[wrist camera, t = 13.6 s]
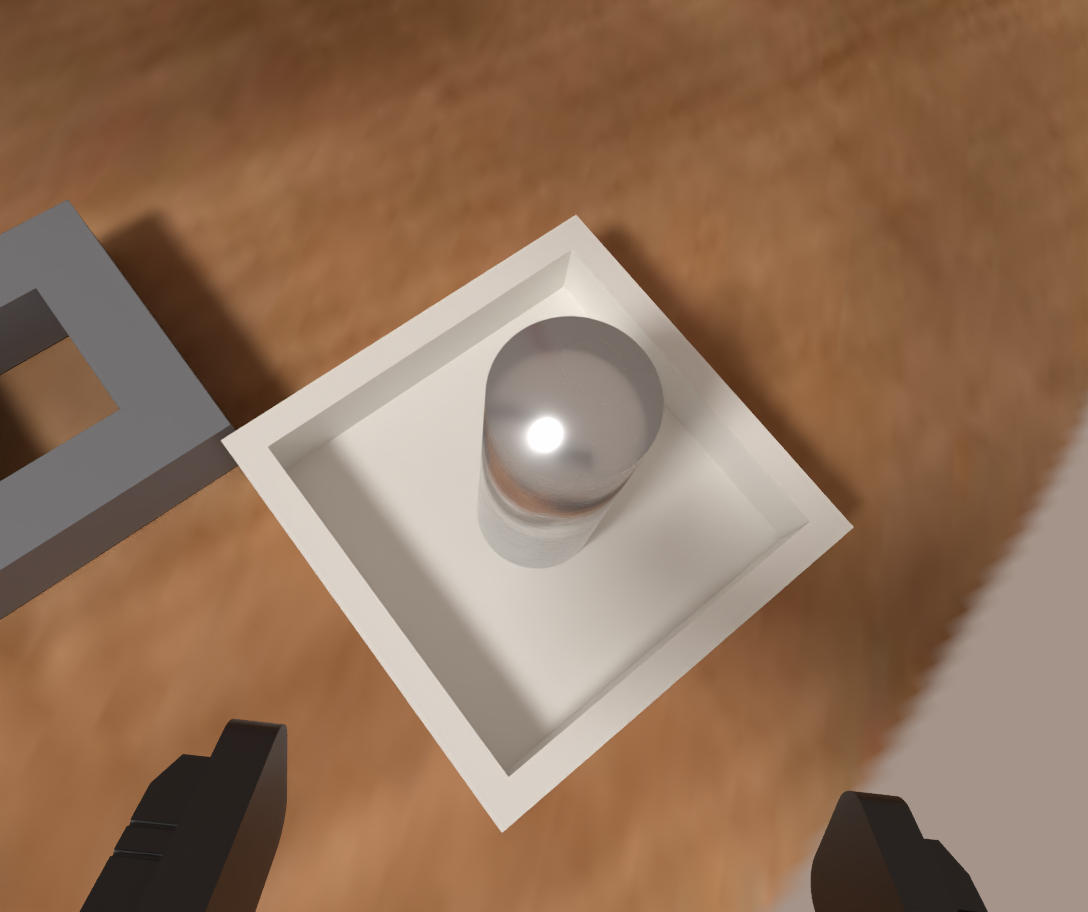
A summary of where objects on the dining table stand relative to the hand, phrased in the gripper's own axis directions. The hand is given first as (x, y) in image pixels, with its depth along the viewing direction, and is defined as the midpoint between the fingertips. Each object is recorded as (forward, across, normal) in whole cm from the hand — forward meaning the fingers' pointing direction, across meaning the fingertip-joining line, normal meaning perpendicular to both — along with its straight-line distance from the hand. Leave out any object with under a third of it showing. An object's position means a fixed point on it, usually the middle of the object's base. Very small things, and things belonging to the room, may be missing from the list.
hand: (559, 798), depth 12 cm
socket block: (+17, +17, +4) cm, 24 cm away
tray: (+16, 0, +5) cm, 17 cm away
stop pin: (+16, 0, +4) cm, 16 cm away
